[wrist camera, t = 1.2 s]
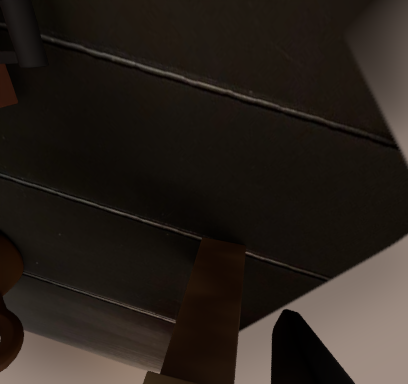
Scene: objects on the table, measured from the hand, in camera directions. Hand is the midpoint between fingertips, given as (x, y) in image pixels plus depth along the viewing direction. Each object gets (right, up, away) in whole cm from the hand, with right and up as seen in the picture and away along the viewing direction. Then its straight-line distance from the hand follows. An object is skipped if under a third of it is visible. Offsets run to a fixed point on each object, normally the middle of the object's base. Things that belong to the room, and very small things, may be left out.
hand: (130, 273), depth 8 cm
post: (+4, -3, +14) cm, 15 cm away
